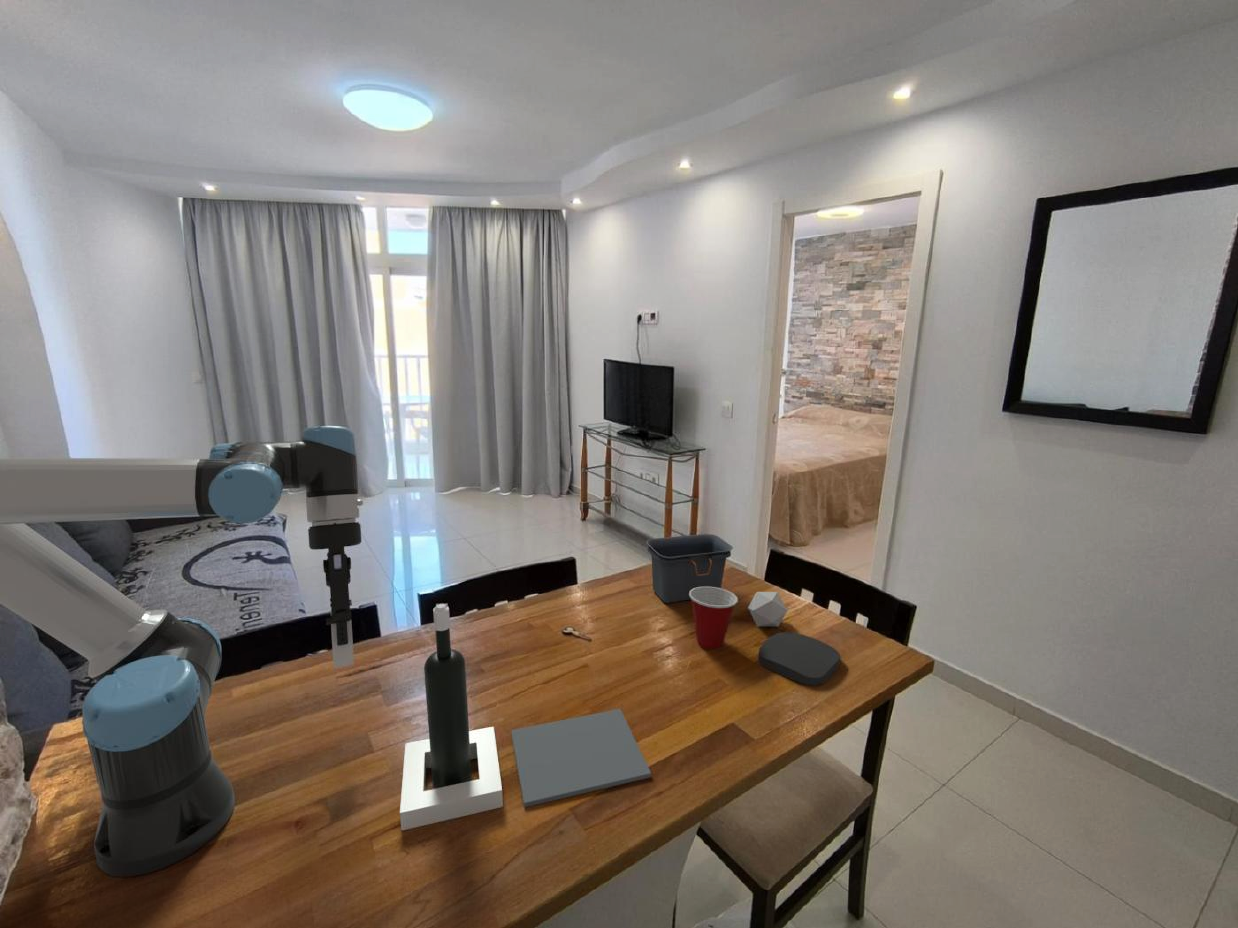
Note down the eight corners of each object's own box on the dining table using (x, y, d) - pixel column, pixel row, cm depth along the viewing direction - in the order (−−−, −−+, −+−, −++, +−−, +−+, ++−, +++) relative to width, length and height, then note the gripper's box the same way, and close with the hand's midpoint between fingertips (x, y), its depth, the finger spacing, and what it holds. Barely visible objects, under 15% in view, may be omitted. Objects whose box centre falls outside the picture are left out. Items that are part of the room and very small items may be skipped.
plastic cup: (743, 642, 127) (747, 594, 124) (717, 661, 119) (720, 611, 116) (704, 625, 134) (706, 579, 131) (677, 642, 126) (679, 594, 123)
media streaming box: (817, 692, 110) (818, 679, 109) (751, 662, 119) (752, 650, 119) (845, 662, 120) (846, 649, 119) (782, 636, 130) (783, 625, 129)
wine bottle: (448, 803, 82) (435, 620, 75) (425, 784, 86) (411, 607, 79) (479, 779, 87) (470, 604, 80) (456, 762, 90) (445, 592, 83)
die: (777, 639, 129) (798, 603, 130) (746, 619, 130) (766, 583, 131) (767, 633, 137) (787, 599, 139) (738, 614, 138) (757, 581, 139)
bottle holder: (401, 830, 78) (399, 812, 77) (406, 758, 91) (405, 743, 90) (502, 806, 82) (502, 789, 81) (494, 741, 95) (493, 726, 94)
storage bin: (709, 578, 160) (712, 531, 156) (738, 602, 145) (741, 551, 142) (641, 588, 153) (642, 539, 149) (664, 614, 139) (665, 561, 135)
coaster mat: (524, 807, 82) (523, 802, 82) (511, 734, 97) (511, 730, 96) (650, 777, 88) (651, 772, 88) (620, 712, 103) (620, 708, 102)
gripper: (364, 520, 80) (374, 669, 79) (356, 520, 102) (364, 636, 101) (305, 526, 77) (314, 681, 75) (310, 524, 99) (317, 644, 97)
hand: (342, 656), depth 88 cm, fingers open, 13 cm apart
